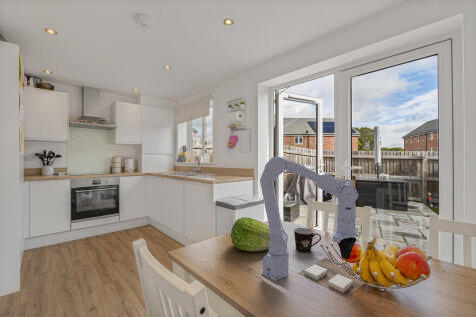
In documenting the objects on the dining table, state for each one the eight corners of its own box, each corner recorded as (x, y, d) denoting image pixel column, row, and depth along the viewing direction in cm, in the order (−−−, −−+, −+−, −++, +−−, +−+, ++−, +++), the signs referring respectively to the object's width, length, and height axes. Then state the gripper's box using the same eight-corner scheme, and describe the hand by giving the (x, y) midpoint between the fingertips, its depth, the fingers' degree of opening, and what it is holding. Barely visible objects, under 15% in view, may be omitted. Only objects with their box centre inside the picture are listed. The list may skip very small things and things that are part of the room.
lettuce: (278, 262, 91) (283, 228, 93) (224, 248, 99) (230, 216, 100) (281, 252, 108) (285, 223, 109) (235, 240, 115) (239, 213, 116)
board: (348, 301, 66) (348, 297, 66) (297, 276, 80) (297, 273, 80) (372, 278, 78) (372, 275, 78) (325, 260, 92) (325, 257, 92)
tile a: (327, 273, 79) (316, 280, 75) (314, 268, 83) (304, 274, 79) (327, 269, 79) (317, 275, 75) (314, 264, 83) (304, 270, 79)
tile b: (352, 284, 72) (343, 293, 68) (337, 278, 76) (328, 285, 72) (352, 280, 72) (343, 288, 68) (338, 273, 76) (328, 281, 72)
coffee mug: (291, 253, 98) (292, 232, 98) (295, 246, 106) (296, 226, 106) (319, 259, 93) (319, 236, 93) (321, 251, 101) (321, 230, 100)
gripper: (348, 226, 67) (348, 269, 67) (367, 217, 76) (366, 256, 76) (326, 220, 72) (326, 261, 72) (346, 213, 81) (346, 249, 81)
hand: (345, 258), depth 74 cm, fingers closed
